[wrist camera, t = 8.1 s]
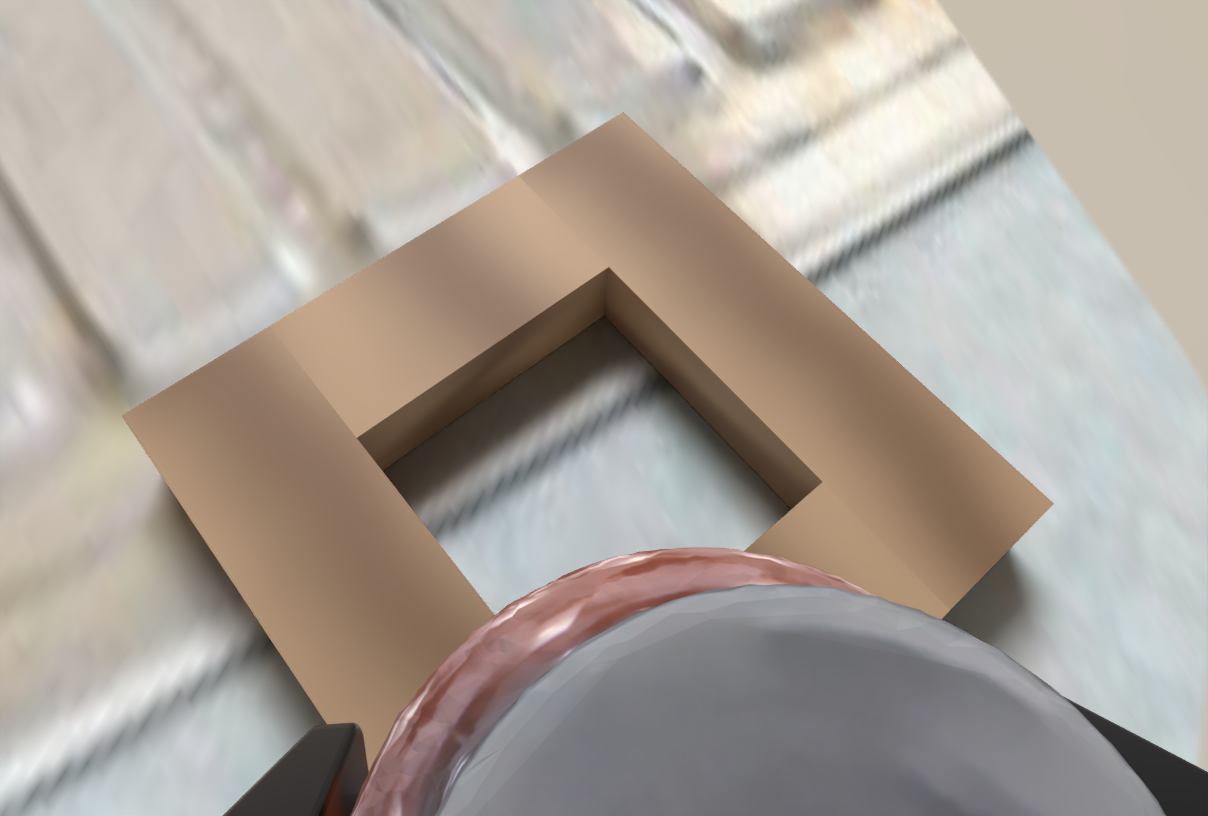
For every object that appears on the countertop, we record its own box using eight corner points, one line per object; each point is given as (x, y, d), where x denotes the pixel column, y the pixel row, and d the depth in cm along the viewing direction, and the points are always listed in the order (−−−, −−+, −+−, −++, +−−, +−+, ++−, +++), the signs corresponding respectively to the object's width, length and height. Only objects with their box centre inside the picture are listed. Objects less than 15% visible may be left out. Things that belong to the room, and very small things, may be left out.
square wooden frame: (538, 1004, 17) (535, 1037, 15) (167, 454, 22) (121, 415, 19) (1002, 533, 22) (1053, 503, 20) (617, 169, 27) (623, 112, 24)
